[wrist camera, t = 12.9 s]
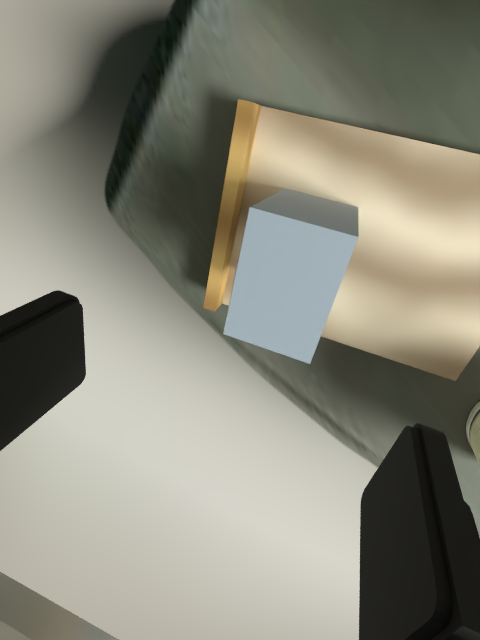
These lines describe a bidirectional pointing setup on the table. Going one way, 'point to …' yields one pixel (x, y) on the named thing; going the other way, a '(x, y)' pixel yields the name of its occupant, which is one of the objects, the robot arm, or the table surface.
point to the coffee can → (474, 430)
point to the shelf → (369, 231)
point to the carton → (290, 271)
